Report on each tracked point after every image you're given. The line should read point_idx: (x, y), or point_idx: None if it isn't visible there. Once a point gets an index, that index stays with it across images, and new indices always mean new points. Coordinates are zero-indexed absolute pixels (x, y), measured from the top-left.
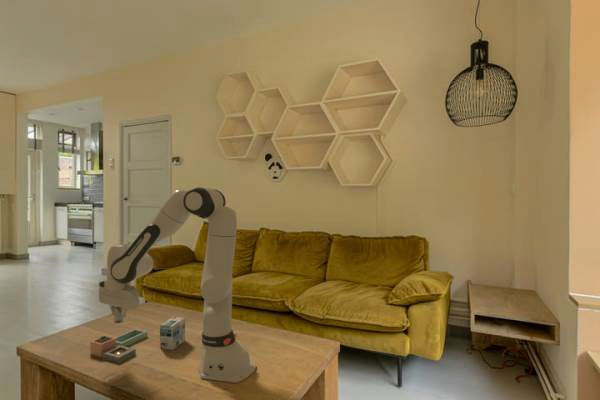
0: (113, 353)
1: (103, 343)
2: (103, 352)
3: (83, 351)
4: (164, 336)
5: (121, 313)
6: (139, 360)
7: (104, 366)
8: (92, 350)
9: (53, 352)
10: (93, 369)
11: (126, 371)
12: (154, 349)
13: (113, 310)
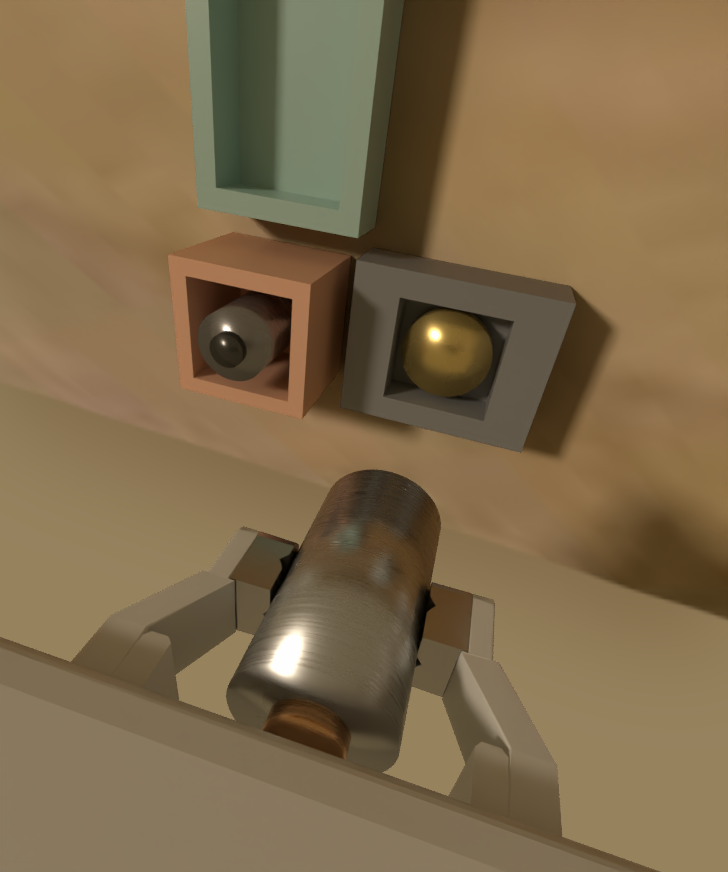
0: (410, 371)
1: (301, 400)
2: (346, 400)
3: (141, 304)
4: None
5: (455, 708)
6: (648, 341)
7: (437, 447)
8: None
9: (19, 351)
10: None
11: (631, 483)
12: (702, 96)
13: (222, 630)
